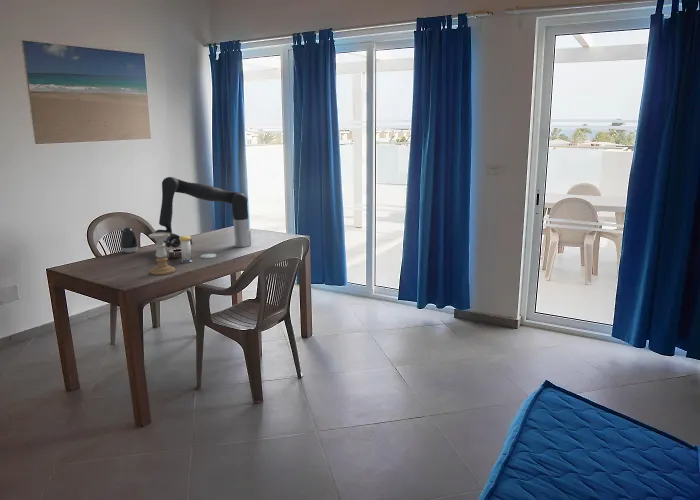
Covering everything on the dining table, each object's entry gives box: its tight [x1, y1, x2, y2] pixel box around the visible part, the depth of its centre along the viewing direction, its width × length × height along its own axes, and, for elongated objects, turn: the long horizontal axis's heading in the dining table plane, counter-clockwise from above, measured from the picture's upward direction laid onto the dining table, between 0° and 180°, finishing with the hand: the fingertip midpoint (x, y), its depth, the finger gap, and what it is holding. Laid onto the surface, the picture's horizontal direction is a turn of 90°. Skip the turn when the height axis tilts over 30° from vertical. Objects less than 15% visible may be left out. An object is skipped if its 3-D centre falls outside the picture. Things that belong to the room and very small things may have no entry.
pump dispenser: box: [119, 227, 139, 254], centre depth 320 cm, size 10×10×15 cm
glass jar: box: [179, 235, 192, 260], centre depth 296 cm, size 6×6×12 cm
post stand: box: [180, 258, 194, 264], centre depth 298 cm, size 7×7×2 cm
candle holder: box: [148, 232, 176, 276], centre depth 275 cm, size 12×12×20 cm
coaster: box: [200, 253, 217, 259], centre depth 309 cm, size 9×9×1 cm
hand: (183, 244), depth 299 cm, fingers open, 8 cm apart
